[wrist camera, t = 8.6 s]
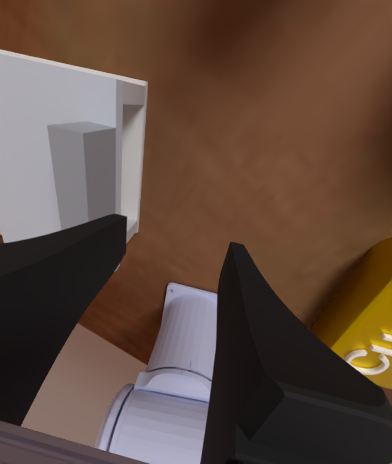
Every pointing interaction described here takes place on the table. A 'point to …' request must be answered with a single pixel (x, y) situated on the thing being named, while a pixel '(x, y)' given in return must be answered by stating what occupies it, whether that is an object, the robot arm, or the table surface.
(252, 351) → the robot arm
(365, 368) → the element tile
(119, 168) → the lid
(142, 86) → the housing
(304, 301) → the table surface
